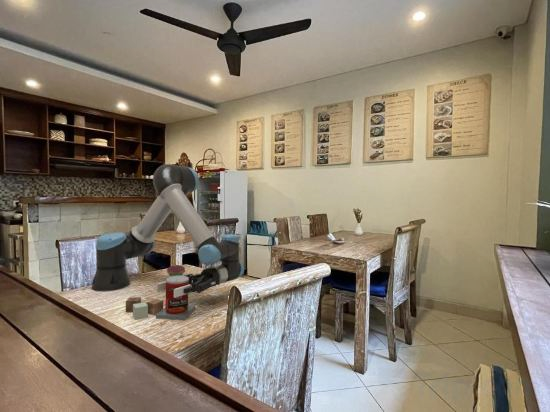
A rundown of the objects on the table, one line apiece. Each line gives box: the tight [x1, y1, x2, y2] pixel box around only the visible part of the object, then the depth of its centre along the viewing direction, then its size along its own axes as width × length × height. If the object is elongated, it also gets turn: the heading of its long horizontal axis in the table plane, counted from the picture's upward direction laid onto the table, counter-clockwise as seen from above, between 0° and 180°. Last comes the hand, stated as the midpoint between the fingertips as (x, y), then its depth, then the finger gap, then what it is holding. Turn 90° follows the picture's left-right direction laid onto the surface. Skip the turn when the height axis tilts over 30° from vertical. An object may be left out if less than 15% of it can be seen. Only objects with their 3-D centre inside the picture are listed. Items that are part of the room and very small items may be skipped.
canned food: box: [164, 275, 190, 314], centre depth 104 cm, size 8×8×11 cm
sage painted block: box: [132, 301, 149, 321], centre depth 101 cm, size 4×4×4 cm
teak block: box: [145, 298, 164, 316], centre depth 105 cm, size 4×4×4 cm
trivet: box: [155, 304, 196, 321], centre depth 104 cm, size 10×10×1 cm
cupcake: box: [166, 256, 186, 277], centre depth 146 cm, size 9×8×12 cm
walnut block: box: [125, 296, 142, 313], centre depth 107 cm, size 4×4×4 cm
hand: (165, 290), depth 100 cm, fingers open, 9 cm apart
